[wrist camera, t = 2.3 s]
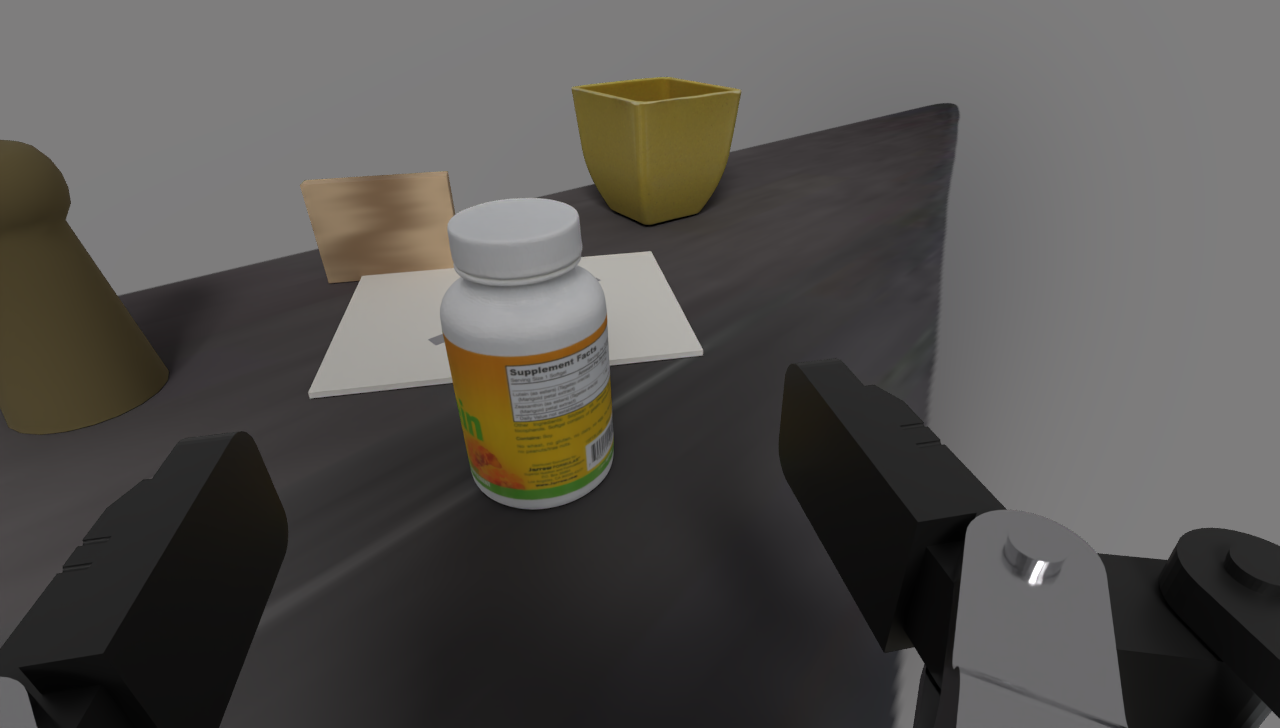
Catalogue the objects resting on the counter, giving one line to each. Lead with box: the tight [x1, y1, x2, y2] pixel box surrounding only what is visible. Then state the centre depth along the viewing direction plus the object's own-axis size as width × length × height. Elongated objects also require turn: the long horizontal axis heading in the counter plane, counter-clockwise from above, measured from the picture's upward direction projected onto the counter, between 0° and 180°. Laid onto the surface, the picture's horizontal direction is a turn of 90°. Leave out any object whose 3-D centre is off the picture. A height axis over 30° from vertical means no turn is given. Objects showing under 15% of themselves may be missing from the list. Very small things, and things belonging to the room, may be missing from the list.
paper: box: [308, 251, 703, 398], centre depth 35 cm, size 18×13×1 cm
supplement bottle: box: [440, 198, 614, 510], centre depth 22 cm, size 5×5×10 cm
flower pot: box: [572, 77, 741, 225], centre depth 47 cm, size 9×9×9 cm
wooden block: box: [300, 171, 455, 283], centre depth 39 cm, size 8×1×6 cm, turn 100°
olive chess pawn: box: [0, 140, 169, 435], centre depth 26 cm, size 6×6×11 cm
